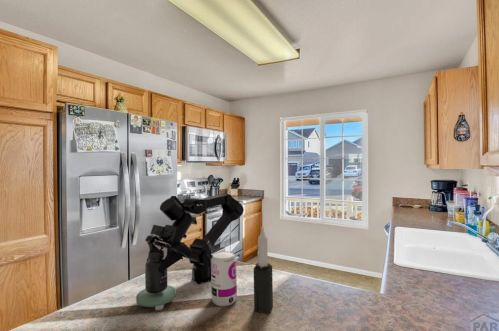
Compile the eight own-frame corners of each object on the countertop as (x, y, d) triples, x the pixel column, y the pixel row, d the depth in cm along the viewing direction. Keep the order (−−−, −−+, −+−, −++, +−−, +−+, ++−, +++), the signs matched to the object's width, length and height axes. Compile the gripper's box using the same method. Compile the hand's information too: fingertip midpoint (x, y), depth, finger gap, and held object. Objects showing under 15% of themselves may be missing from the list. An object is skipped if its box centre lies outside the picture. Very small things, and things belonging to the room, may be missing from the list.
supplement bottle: (167, 292, 84) (166, 254, 83) (144, 295, 82) (143, 256, 81) (167, 282, 90) (167, 247, 90) (146, 285, 88) (145, 249, 88)
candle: (273, 305, 83) (272, 225, 83) (269, 314, 78) (268, 229, 78) (258, 303, 84) (256, 224, 84) (253, 311, 80) (251, 228, 80)
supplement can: (241, 297, 88) (240, 252, 88) (228, 309, 81) (228, 260, 81) (220, 292, 92) (219, 249, 92) (206, 304, 84) (206, 257, 84)
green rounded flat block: (170, 290, 94) (169, 282, 94) (180, 305, 84) (180, 295, 84) (133, 299, 88) (133, 290, 88) (139, 317, 77) (139, 307, 77)
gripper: (149, 212, 94) (119, 251, 86) (183, 217, 83) (153, 263, 75) (168, 229, 101) (142, 267, 92) (202, 236, 90) (177, 281, 81)
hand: (152, 269), depth 85 cm, fingers closed on supplement bottle, 7 cm apart
